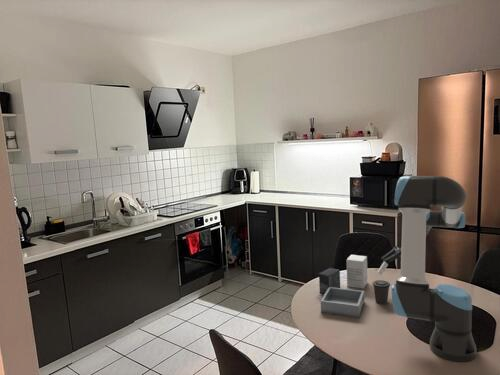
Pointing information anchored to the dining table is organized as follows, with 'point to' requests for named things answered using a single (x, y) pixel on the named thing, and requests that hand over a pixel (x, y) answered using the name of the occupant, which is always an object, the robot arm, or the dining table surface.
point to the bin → (342, 302)
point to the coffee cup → (381, 291)
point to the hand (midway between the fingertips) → (389, 278)
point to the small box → (329, 279)
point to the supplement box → (357, 271)
